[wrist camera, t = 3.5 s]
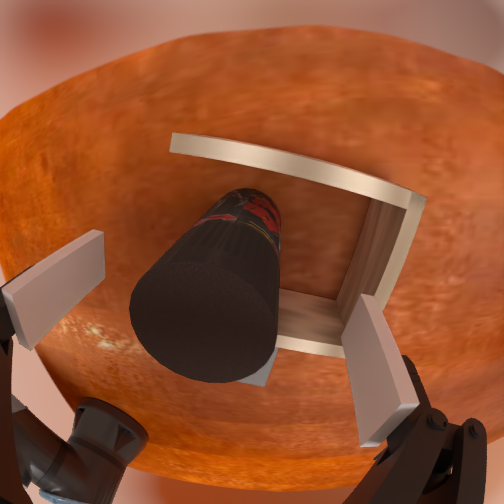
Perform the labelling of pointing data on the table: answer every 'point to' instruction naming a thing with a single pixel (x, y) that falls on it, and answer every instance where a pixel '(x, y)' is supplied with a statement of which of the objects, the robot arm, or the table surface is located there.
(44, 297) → the robot arm
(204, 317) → the deodorant
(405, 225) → the bay
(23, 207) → the table surface
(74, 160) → the table surface
